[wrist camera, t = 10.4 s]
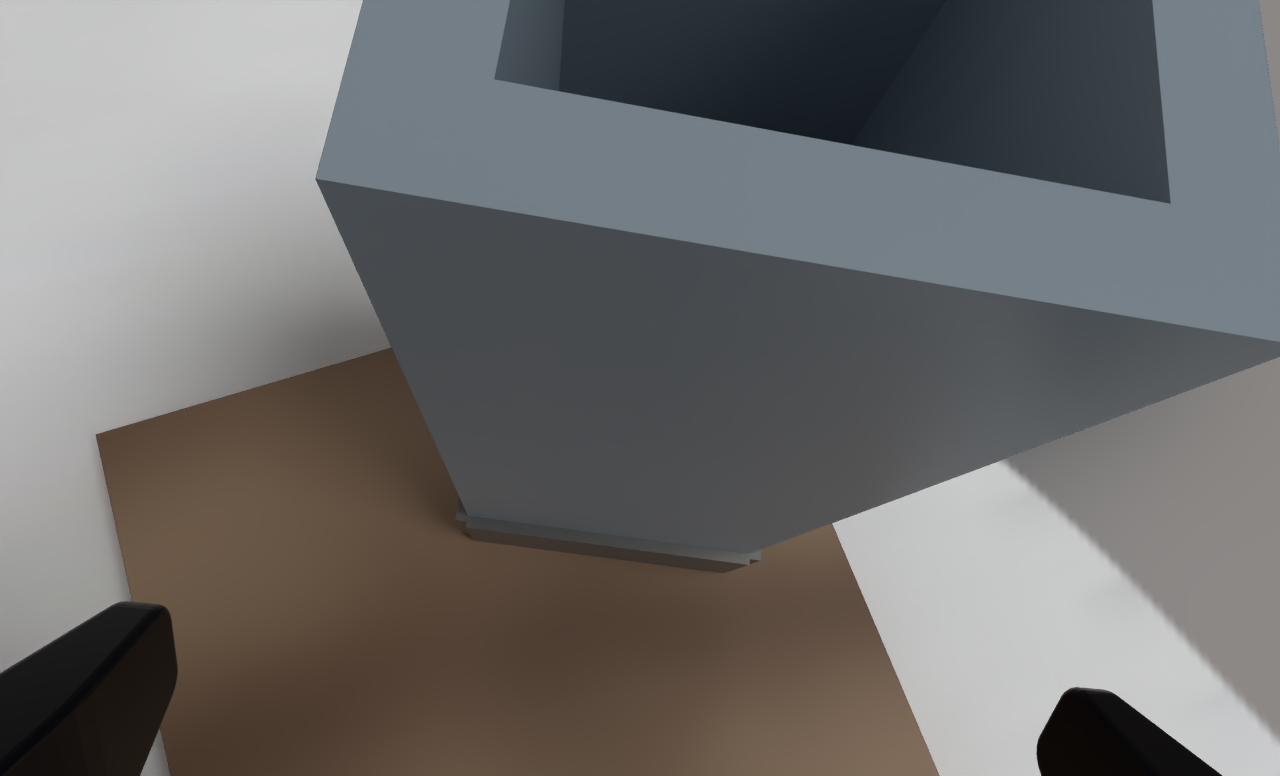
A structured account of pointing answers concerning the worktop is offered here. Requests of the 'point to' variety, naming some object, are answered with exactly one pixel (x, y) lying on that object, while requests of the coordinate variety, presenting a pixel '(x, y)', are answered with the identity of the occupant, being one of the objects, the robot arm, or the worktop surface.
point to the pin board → (466, 616)
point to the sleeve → (794, 245)
